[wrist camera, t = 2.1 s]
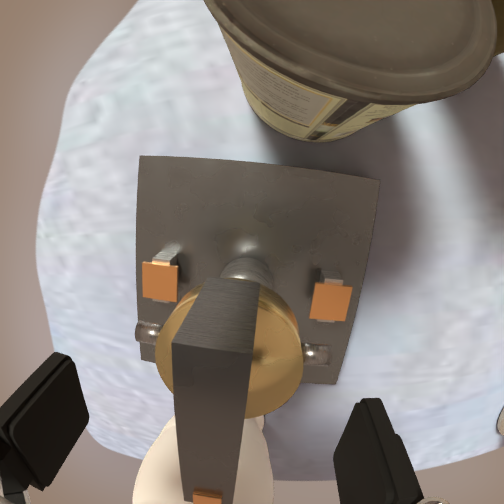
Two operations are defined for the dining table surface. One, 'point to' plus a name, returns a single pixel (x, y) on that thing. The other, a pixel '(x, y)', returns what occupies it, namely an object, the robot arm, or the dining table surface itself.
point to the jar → (169, 477)
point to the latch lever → (226, 374)
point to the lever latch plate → (255, 241)
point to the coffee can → (352, 58)
